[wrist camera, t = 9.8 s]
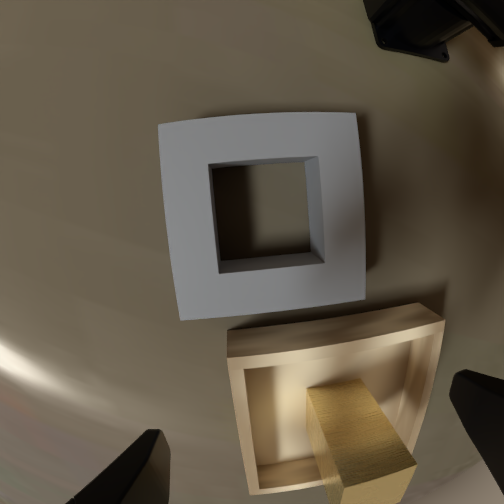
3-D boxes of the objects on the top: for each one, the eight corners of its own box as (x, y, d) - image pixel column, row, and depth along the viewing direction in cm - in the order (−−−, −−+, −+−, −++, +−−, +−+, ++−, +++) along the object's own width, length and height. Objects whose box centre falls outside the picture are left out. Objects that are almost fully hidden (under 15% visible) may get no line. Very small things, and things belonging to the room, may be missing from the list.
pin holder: (337, 124, 17) (355, 113, 14) (346, 283, 19) (365, 299, 16) (169, 135, 17) (157, 124, 14) (187, 301, 19) (180, 320, 16)
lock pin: (360, 378, 20) (417, 464, 11) (355, 417, 20) (399, 501, 12) (306, 388, 19) (344, 487, 11) (305, 427, 20) (335, 521, 11)
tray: (418, 302, 20) (445, 319, 16) (394, 435, 22) (409, 459, 19) (227, 330, 19) (226, 358, 16) (247, 465, 22) (249, 495, 18)
